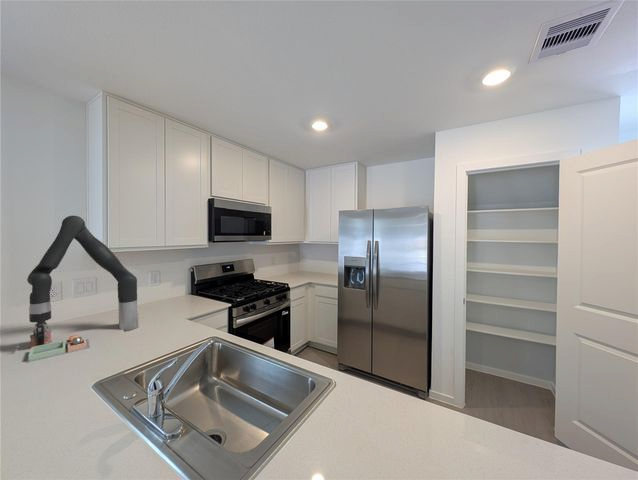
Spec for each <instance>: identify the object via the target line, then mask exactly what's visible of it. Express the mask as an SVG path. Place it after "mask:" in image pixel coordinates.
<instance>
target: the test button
mask: <svg viewBox="0 0 638 480" xmlns="http://www.w3.org/2000/svg"><path fill="white" fill-rule="evenodd" d="M75 337H80V335H79V334H74V335H70V336H69V337H68V340H69V342H73V338H75Z"/></svg>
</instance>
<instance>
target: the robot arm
mask: <svg viewBox="0 0 638 480" xmlns="http://www.w3.org/2000/svg"><path fill="white" fill-rule="evenodd" d="M73 240H75V241H77V242H78V244H80V245H81V247H82V248H83V250H84V252H86V253H87V255H88V256H89V257H90V258H91V259H92V260H93V261H94V262H95V263H96V264H97V266H100V267H101V268H103V269H104V270H105V271H107V272H108V273H109V274H111V275H112V277H113V278H114V279H115V280H116V282H117V300H118V329H119V330H123V332H128V331H129V332H130V331H133V330H135V329H139V312H138V278H137V276H135V274H133V273H132V272H130V271H129V269H127V268H126V267H125V266H124V265H123V264H122V263H121V261H120V260H119V258H118V257H117V256H116V255H115V254H114V252H113V251H112V250H111V249H110V248H109V247H108V246H107V245H106V244H104V243H103V242H102V241H101V240H100V239H99V238H97V237H95V236H94V235H93V233H92V232H90V230H89V229H88V227H86V221H85V220H84V219H83V218H82V217H80V216H78V215H69V216H66V217H64V218H63V220H62V221H61V226H60V230H59V232H58V233H57V235H56V237H55V239H54V240H53V242H52V243H51V245H49V248H47V250H46V251H45V253H44V255H43V256H42V257H41V259H40V261H39V263H38V264H37V265H36V266H35V267H33V269H32V270H31V271H30V273H29V274H28V277H27V283H28V284H29V285H30V286H31V293H30V294H29V308H28V311H29V312H28V315H29V317H28V318H29V323H35V324H34V330H36V336H37V337H36V338H37V340H38V346H40V345H44V337H45V336H44V333H45V332H46V330H47V329H46V326H48V322H47V321H49V320H51V319H52V303H51V291H52V290H51V289H52V284H53V279H52V276H51V274H52V272H53V270H56V269H57V268H58V266H60V263H62V260H63V259H64V257H65V255H66V253H67V251H68V249H69V246H71V243H72V242H73ZM40 334H42V336H39V335H40Z"/></svg>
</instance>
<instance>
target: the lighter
mask: <svg viewBox="0 0 638 480" xmlns="http://www.w3.org/2000/svg"><path fill="white" fill-rule="evenodd" d="M32 333H33V334H30V335H29V338H30V348H31V347H35V346H38V340H37V338H36V337H37V336H36V329H33V331H32ZM39 336H42V334H40V335H39ZM44 336H45V337H44V344H49V343H52V329H50V326H49V325H47V326H46V332H45V333H44Z"/></svg>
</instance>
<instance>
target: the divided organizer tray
mask: <svg viewBox="0 0 638 480" xmlns="http://www.w3.org/2000/svg"><path fill="white" fill-rule="evenodd" d="M80 337H81V344H77V345H73V342H69V339H67V340H66V339H64V340H60V341H55V342H51V343H48V344H44V345H40V346H35V347H31V346H30V350H29V352H28V355H27V359H26V362H25V364H27V363H31V362H36V361H40V360H45V359H48V358H52V357H56V356H61V355H65V354H70V353H74V352H79V351H81V350H86V349H90V341H89V338H87V339H86V338H83V337H82V336H80Z"/></svg>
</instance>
